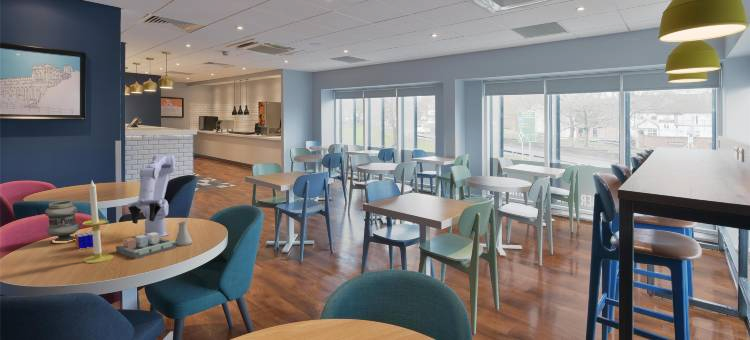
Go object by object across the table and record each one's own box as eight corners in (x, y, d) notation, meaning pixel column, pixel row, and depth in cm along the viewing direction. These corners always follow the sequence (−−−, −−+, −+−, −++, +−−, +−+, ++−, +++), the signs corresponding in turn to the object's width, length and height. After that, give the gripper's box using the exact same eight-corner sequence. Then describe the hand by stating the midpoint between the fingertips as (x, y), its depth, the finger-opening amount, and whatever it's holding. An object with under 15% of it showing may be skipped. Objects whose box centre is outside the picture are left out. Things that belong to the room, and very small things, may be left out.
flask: (185, 246, 179) (184, 224, 178) (171, 245, 181) (169, 223, 180) (195, 241, 186) (194, 220, 185) (181, 240, 188) (180, 219, 187)
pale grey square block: (147, 242, 180) (147, 233, 180) (154, 240, 183) (154, 232, 183) (152, 244, 178) (151, 235, 178) (159, 242, 181) (159, 233, 180)
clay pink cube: (123, 248, 172) (123, 239, 172) (131, 246, 175) (131, 237, 174) (128, 250, 170) (127, 240, 170) (136, 248, 173) (135, 239, 172)
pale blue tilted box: (135, 245, 176) (135, 236, 176) (143, 243, 179) (142, 234, 178) (140, 247, 174) (140, 238, 174) (148, 245, 177) (147, 236, 176)
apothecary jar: (41, 242, 183) (37, 203, 181) (70, 235, 194) (66, 198, 192) (58, 246, 178) (54, 206, 176) (86, 238, 189) (83, 201, 187)
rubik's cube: (76, 246, 178) (74, 234, 177) (91, 243, 182) (90, 231, 182) (79, 249, 174) (78, 236, 174) (94, 246, 178) (93, 234, 178)
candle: (90, 265, 156) (83, 182, 152) (78, 260, 161) (71, 179, 157) (117, 257, 165) (112, 178, 160) (105, 253, 170) (99, 176, 166)
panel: (116, 251, 172) (115, 244, 172) (156, 241, 186) (155, 234, 186) (135, 258, 163) (135, 251, 163) (175, 247, 178) (175, 240, 177)
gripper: (125, 192, 178) (121, 221, 173) (156, 187, 178) (153, 217, 172) (135, 196, 185) (131, 225, 180) (166, 192, 184) (163, 221, 179)
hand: (143, 222), depth 176 cm, fingers open, 7 cm apart
